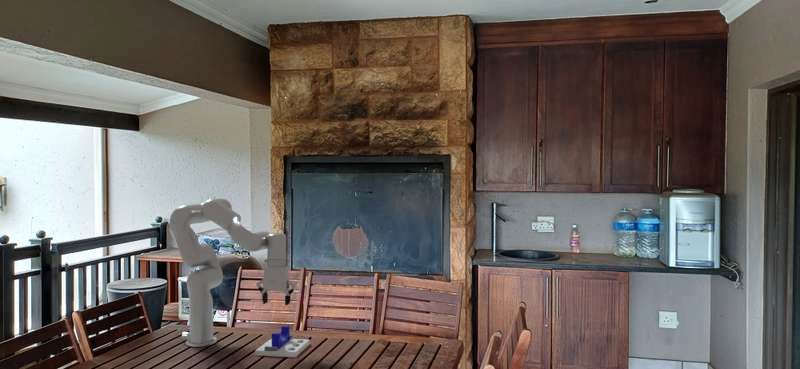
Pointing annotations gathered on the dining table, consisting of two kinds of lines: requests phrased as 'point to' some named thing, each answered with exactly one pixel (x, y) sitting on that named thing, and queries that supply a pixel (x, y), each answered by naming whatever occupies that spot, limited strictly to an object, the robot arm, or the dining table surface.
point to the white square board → (283, 348)
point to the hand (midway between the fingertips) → (276, 303)
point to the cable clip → (281, 337)
